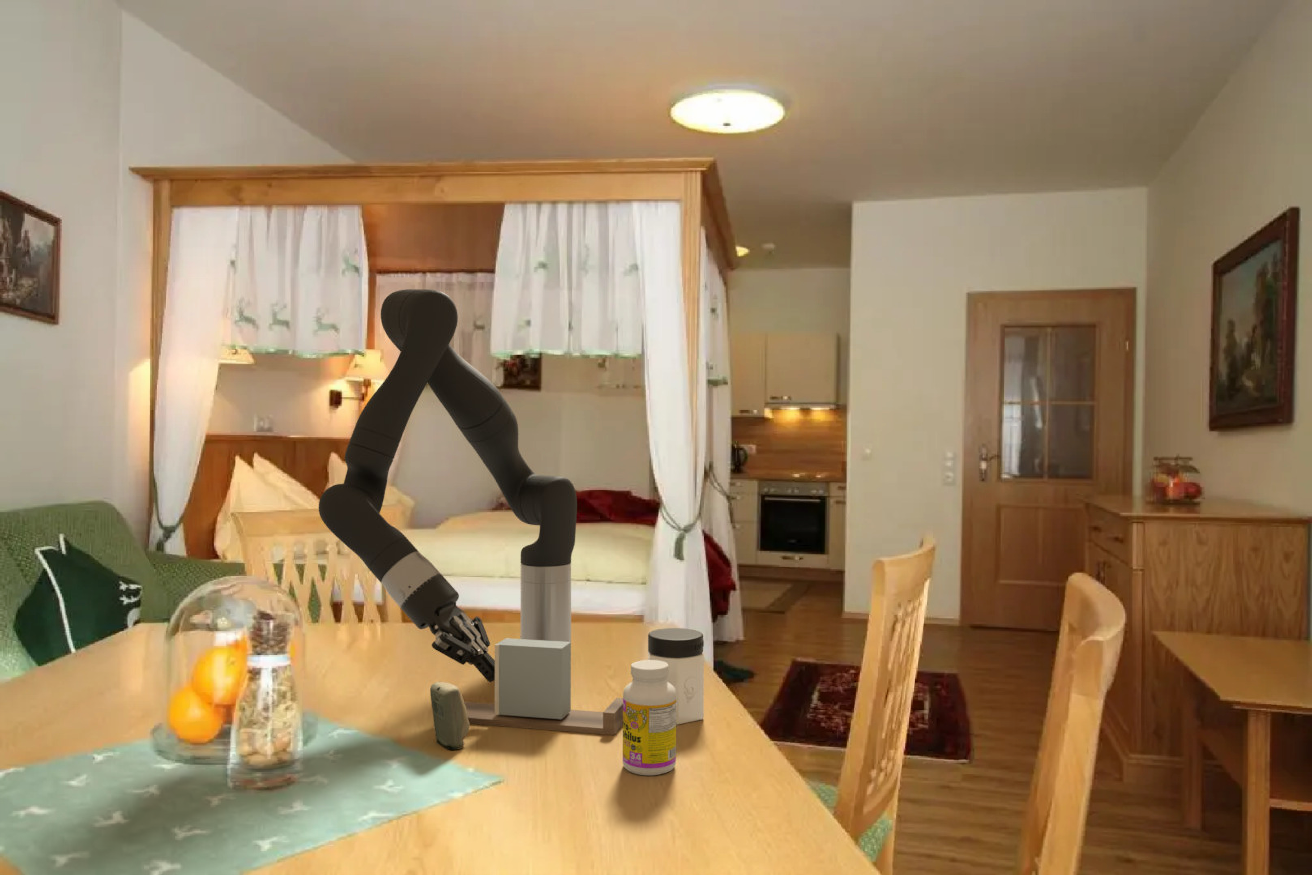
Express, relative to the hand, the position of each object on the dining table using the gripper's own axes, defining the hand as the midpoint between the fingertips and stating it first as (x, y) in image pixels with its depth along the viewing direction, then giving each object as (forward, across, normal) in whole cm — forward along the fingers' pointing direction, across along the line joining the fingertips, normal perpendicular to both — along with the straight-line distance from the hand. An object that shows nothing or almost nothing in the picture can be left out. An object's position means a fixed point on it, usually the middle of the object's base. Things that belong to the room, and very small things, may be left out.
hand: (497, 677), depth 134 cm
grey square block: (+7, 0, -1) cm, 7 cm away
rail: (+8, 0, +1) cm, 8 cm away
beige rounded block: (+3, -12, +6) cm, 14 cm away
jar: (+22, +7, -13) cm, 27 cm away
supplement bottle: (+23, -14, -14) cm, 30 cm away
